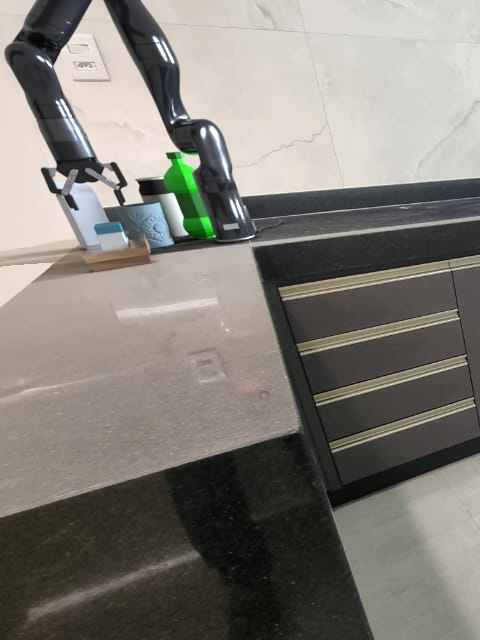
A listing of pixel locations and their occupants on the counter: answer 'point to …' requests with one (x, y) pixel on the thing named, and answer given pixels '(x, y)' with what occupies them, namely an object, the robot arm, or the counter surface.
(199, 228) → the plastic bottle
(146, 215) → the blue embossed mug
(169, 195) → the travel mug
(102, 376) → the counter surface
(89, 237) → the milk carton
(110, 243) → the two-tone teal block
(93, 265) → the wooden tray
